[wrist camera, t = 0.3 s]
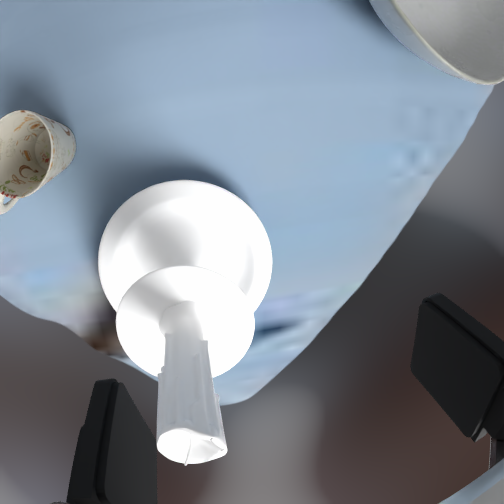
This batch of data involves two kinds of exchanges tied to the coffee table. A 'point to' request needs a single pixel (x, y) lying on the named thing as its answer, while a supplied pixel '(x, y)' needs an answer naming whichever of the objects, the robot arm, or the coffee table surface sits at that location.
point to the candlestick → (185, 300)
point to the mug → (31, 154)
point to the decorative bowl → (450, 34)
